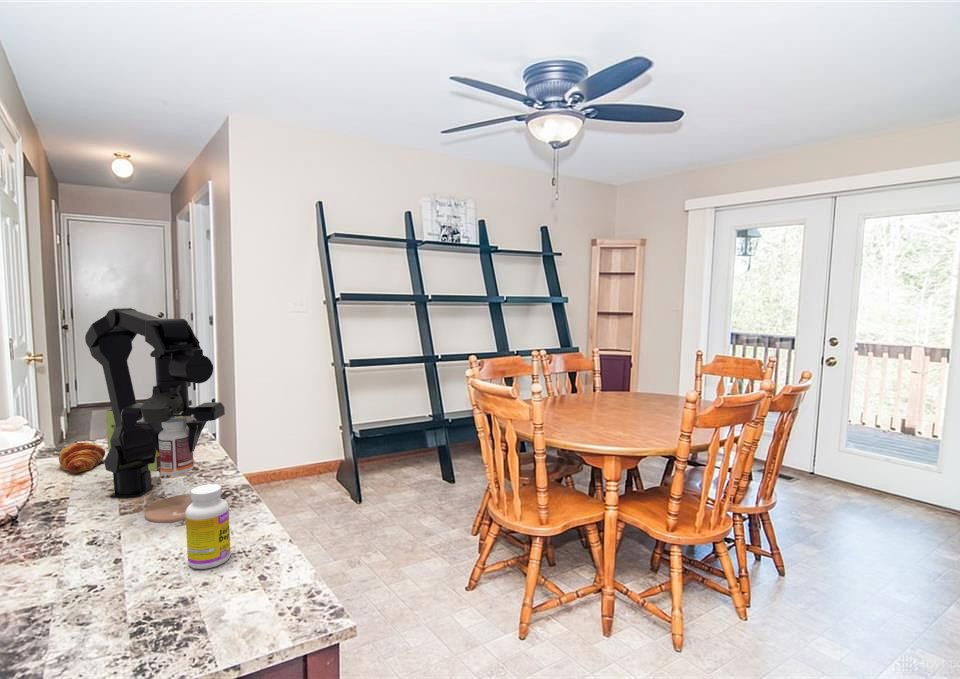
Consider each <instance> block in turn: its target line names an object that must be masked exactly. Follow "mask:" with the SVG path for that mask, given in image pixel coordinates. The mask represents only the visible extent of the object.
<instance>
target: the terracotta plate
mask: <svg viewBox="0 0 960 679" xmlns="http://www.w3.org/2000/svg"><path fill="white" fill-rule="evenodd" d="M192 503H193V501H192V499H191V493H186V494H179V495H175V496H169V497H166V498H162V499H159V500H158V501H155V502H153V503H152V504H150V505H147V507H146V508H145V509H144V511H143V515H144V519H145V520H146V521H147V522H151V523H156V522H157V523H158V524H160V523H161V524H162V523H163V524H164V523H165V522H169V523H176V521H177V522H181V521H180V520H183V521H186V520H185V519H186V517H185V512H186V509H187V507H188V506H189V505H190V504H192ZM165 524H166V523H165Z"/></svg>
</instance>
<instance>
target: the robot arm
mask: <svg viewBox="0 0 960 679" xmlns="http://www.w3.org/2000/svg"><path fill="white" fill-rule="evenodd" d="M137 335H140V336H143V337H144V341H145V342H146V344H148V345H150V346H151V347H152V348H153V350H152V351H151V352H150V353H149V355H150V357H151V358H154V361H155V362H154V365H155V366H154V367H155V380H156V381H155V382H156V383H155V384H156V385H154V386H152V395H151V397H149V398H148V399H146V401H145V402H143V404H137V399H136V395H135V390H134V387H133V386H134V385H133V382H132V377H131V373H130V372H131V371H130V368H129V364H128V359H129V357H130V355H131V353H132V351H133V343H132V342H133V341H134V339H135V338H136V337H137ZM84 339H85V344H86V346H87V347H88V348H89V349H88V350H89V352H90V355H91V357H92V358H93V359H95V360H96V361H97V362H98V363H99V364H100V366H102V371H103V374H104V379H105V384H106V387H107V393H108V398H109V402H110V406H111V409H112V411H113V416H114V420H115V425H116V428H115V430H114V433H113V435H112V437H111V440H110V443H111V449H110V451H109V453H108V452H107V454H106V456H105V459H104V460H103V463H104V467H105V470H106V471H108V472H111V473H112V478H113V480H112V481H113V489H114V490H113V491H114V492H113V493H112V494H111V493H110V495H109V497H110V498H113V499H114V498H137V497H141V496H143V495H144V494H145V493H147V492H148V491H150V490H151V489H153V488H154V484H152V474H151V473H152V471H150V470H149V469H148V464H152V463H155V456H156V450H157V451H158V453H159V438H158V435H159V433H160V432H161V431H162V430H163V428H162V422H166V421H168V420H169V419H170V418H171V416H184V417H190V418H191V420H190V421H187V423H186V424H187V426H186V427H187V428H189V448H190V452H193V453H194V451H195V450H196V447H197V444H198V442H199V439H200V436H201V434H202V432H203V430H204V428H205V426H206V423H207V422H211V421H215V420H218V419H219V418H221V417H223V416H225V414H226V412H225V410H226V409H225V406H224V404H223V403H222V402H221V401H219V402H217V401H214V402H203V403H201V404H199V405H197V406H192V405H193V401H192V400H191V399H190V398H189V387H191V385H192V384H203V383H206V382H207V381H208V380H209V379H211V377H212V375H213V373H214V364H213V363H212V360H211V359H210V358H209V357H208V356H206V355H204V350H203V349H202V348H201V346H200V341H199V339H198V338H197V336H196V335H195V333H194V331H193V329H192V327H191V326H190V324H189V322H188V321H187V320H186V319H184V318H159V317H157V316H154V315H150V314H147V313H144V312H142V311H138V310H137V309H135V308H133V307H128V308H126V307H125V308H112V309H109V310H108V311H107V313H106V314H105V315H104V316H103V317H101V318H100V319H97V320H96V321H94V322H93V323H92V324H91V325H90V326H89V327H88V330H87V332H86V333H85V338H84ZM181 411H182V412H181Z"/></svg>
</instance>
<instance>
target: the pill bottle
mask: <svg viewBox="0 0 960 679" xmlns="http://www.w3.org/2000/svg"><path fill="white" fill-rule="evenodd" d="M187 422H188V419H187V418H186V417H184V418H183V417H176V418H170V419H169V420H168V421H166V422H162V428H163V430H162V431H161V432H160V433H159V435H158V438H159V455H160V470H159V471H160V473H161V474H163V475H167V476H168V475H169V476H172V475H173V476H175V475H180V474H185V473H187V472H191V470H193V468H194V451H193V452H190V448H189V428H188V426H187V424H186V423H187Z"/></svg>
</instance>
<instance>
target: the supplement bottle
mask: <svg viewBox="0 0 960 679" xmlns="http://www.w3.org/2000/svg"><path fill="white" fill-rule="evenodd" d="M222 493H223V492H222V485H220V484H216V483H215V484H214V483H210V484H203V485H200V486H196V487H194V488H192V489H191V491H190V494H191V499H192V501H193V503H192V504H190V505H189V506H188V507H187V509H186V512H185V517H186V520H185V529H186V530H185V531H186V533H185V534H186V550H187V563H188V566H190V567H191V568H193V569H197V570H204V569H205V570H206V569H211V568H216V567H218V566H221V565H222V564H224V563H225V562H227V561H228V560H229V558H230V557H231V554H232V553H231V552H232V551H231V533H230V532H231V531H230V513H229V512H230V511H229V503H228V502H227V501H226V499H224V498H221V496H222Z"/></svg>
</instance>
